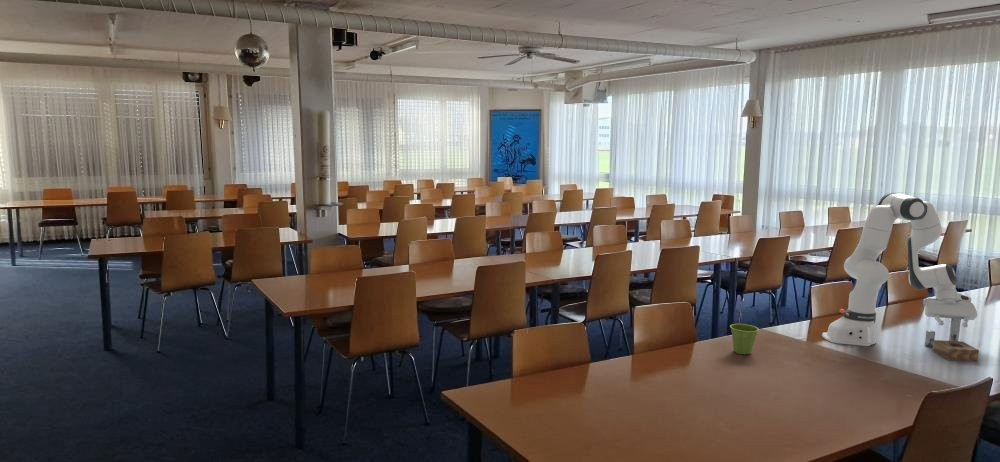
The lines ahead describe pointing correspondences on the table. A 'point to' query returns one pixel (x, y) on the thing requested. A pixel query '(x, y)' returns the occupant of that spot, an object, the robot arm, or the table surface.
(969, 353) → the hole block
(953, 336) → the long pin
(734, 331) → the plant pot
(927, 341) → the short pin
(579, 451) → the table surface
